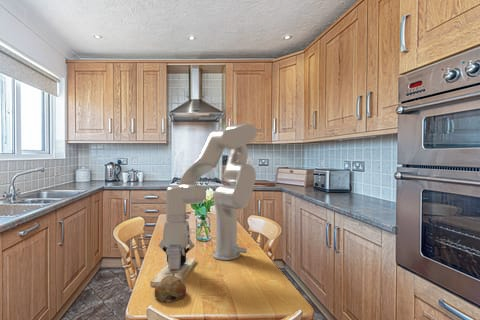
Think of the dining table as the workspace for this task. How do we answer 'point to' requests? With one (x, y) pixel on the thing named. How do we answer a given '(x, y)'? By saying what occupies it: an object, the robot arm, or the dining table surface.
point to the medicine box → (174, 257)
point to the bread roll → (170, 289)
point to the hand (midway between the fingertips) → (176, 263)
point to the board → (173, 271)
